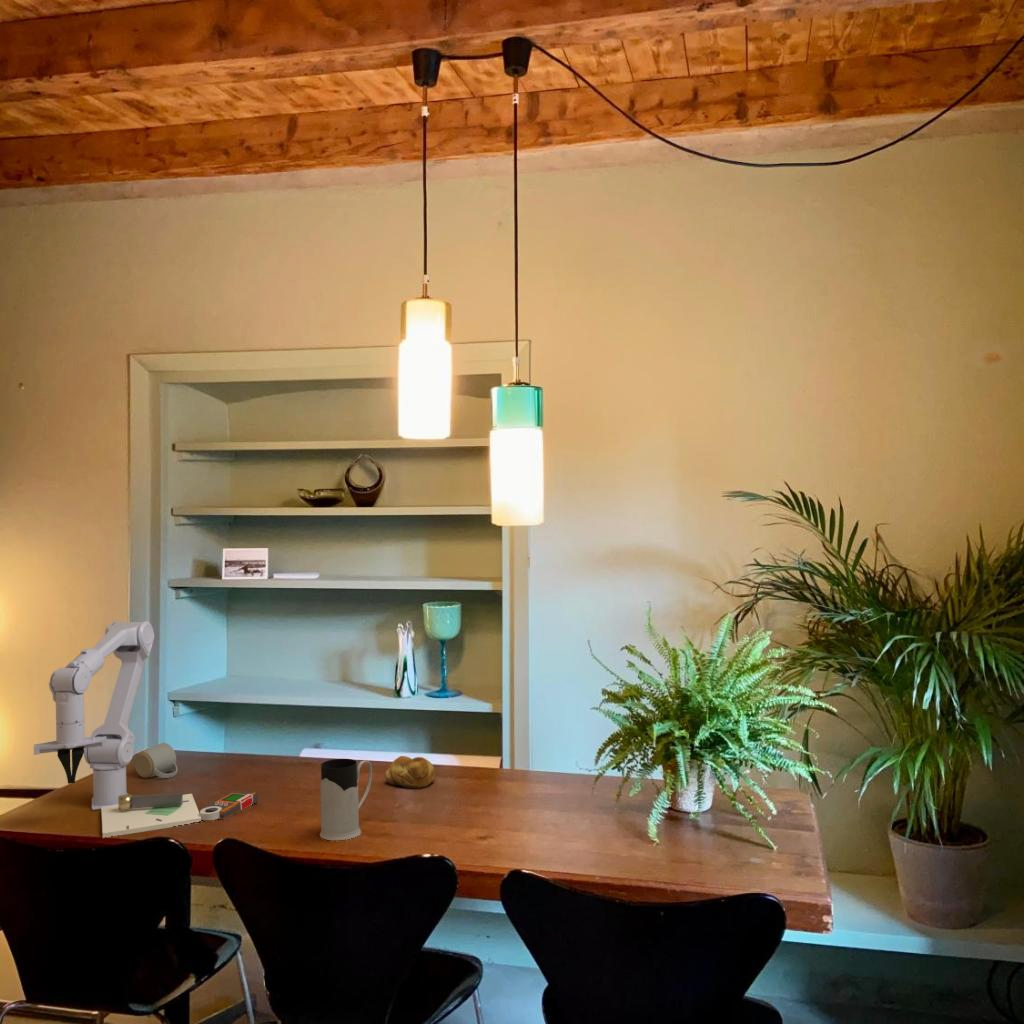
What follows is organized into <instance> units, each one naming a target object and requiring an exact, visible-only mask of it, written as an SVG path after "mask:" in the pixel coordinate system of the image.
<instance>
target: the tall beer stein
mask: <svg viewBox="0 0 1024 1024" xmlns="http://www.w3.org/2000/svg"><path fill="white" fill-rule="evenodd" d="M364 763H367V765H368V771H369V773H368V774H369V775H368V776H369V777H368V781H367V786H366V787H365V792H364V794H363V796H362V798H361V799H360V801H359V785H358V783H359V781H360V771H361V767H362V766H363V764H364ZM320 773H321V774H320V778H321V779H320V818H321V820H320V821H321V822H320V825H321V827H320V828H321V829H320V833H319V835H320V836H321V837H322V838H324V839H327V840H345V839H346V841H348V840H347V839H350V840H352V839H351V838H354V839H356V838H358V837H359V836H360V835H362V830H361V829H360V820H359V819H360V818H359V817H360V816H359V813H360V812H359V811H360V808H361V807H362V805H363V804H364V801H366V798H367V797H368V794H369V793H370V792H369V791H370V789H371V785H372V780H373V779H372V778H373V765H372V763H371V762H370V761H369V760H362V761H360V762H359V763H358V761H356V760H355V759H351V758H334V759H329V760H326V761H324V762H322V763H321V764H320ZM357 836H358V837H357ZM355 837H356V838H355Z"/></svg>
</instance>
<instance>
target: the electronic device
mask: <svg viewBox="0 0 1024 1024" xmlns="http://www.w3.org/2000/svg"><path fill="white" fill-rule="evenodd" d="M258 795H259V794H258V793H257V792H253V791H252V792H251V791H242V790H233V791H230V792H229V793H227V794H225V795H223V796H222V797H220V798H218V799H216V800H214V801H212V802H210V803H208V804H206V805H205V806H203V807H201V808H199V813H200V816H201V820H215V819H218V818H225V817H228V816H229V815H231V814H233V813H235V812H237V811H239V810H242V809H244V808H246V807H248V806H250V805H252V804H253V805H255V804H257V803H258V802H259V796H258ZM256 802H257V803H256ZM254 803H255V804H254Z"/></svg>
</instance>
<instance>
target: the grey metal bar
mask: <svg viewBox="0 0 1024 1024" xmlns="http://www.w3.org/2000/svg"><path fill="white" fill-rule="evenodd" d="M183 795H184V794H183V792H171V793H170V792H169V793H151V794H137V795H134V794H130V793H128V794H125V795H121V796H119V797H118V810H120V811H125V810H130V809H132V808H147V807H164V806H180V805H182V804H183Z"/></svg>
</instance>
